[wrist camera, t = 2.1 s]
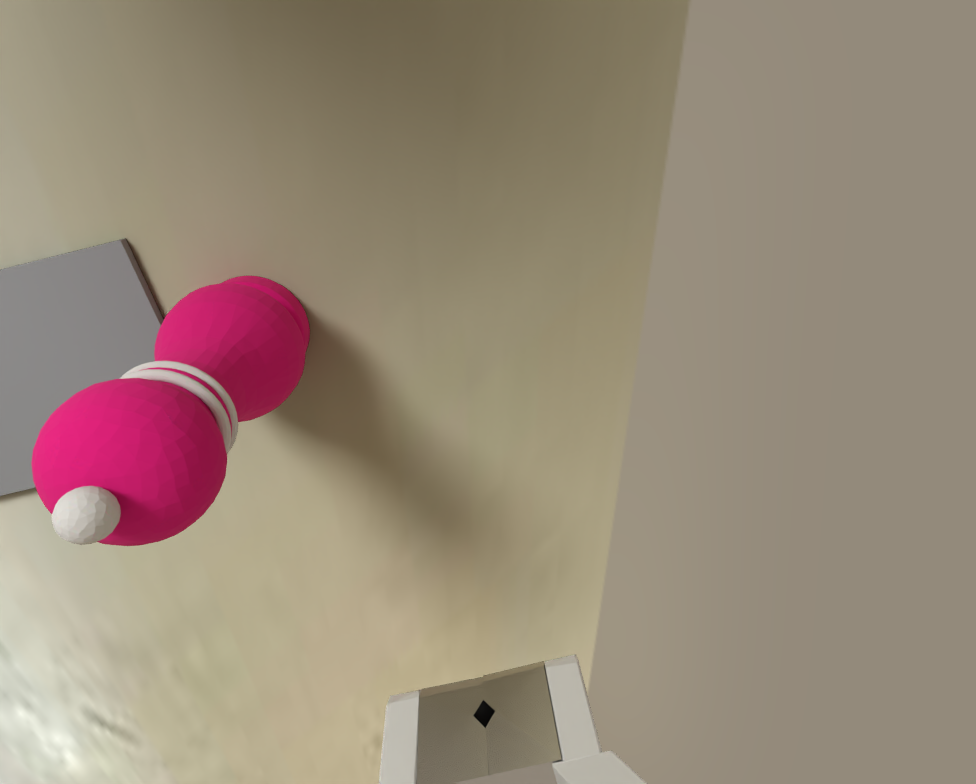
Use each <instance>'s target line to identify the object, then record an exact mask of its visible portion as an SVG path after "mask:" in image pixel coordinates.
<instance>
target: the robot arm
mask: <svg viewBox="0 0 976 784" xmlns="http://www.w3.org/2000/svg"><path fill="white" fill-rule="evenodd" d="M379 784H647V783H646V782H645V781H644V780H643V779H642V778H641V777H640V776H639V775H638V774H637V773H636V772H635V771H633V770H632V769H631V768H630V767H629V766H628V765H627V764H626V763H625V762H624V761H623V760H622V759H621V758H620V757H619V756H618V755H617V754H615V753H614V752H613V751H606V752H602V750H601V746H600V742H599V738H598V735H597V731H596V727H595V723H594V719H593V715H592V711H591V707H590V704H589V700H588V696H587V692H586V688H585V684H584V680H583V676H582V673H581V669H580V665H579V661H578V658H577V656H576V655H575V654H574V655H570V656H566V657H561V658H557V659H553V660H548V661H545V664H544V661H542V662H538V663H534V664H530V665H526V666H521V667H517V668H513V669H509V670H505V671H501V672H496V673H492V674H488V675H484V676H483V677H480V678H475V679H469V680H464V681H459V682H454V683H449V684H444V685H439V686H434V687H429V688H424V689H421V690H416V691H411V692H407V693H402V694H397V695H392V696H390V698H389V701H388V703H387V706H386V714H385V725H384V735H383V746H382V756H381V767H380V777H379Z"/></svg>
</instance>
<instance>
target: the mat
mask: <svg viewBox="0 0 976 784" xmlns="http://www.w3.org/2000/svg"><path fill="white" fill-rule="evenodd" d="M163 321H164V319H163V317H162V315H161V313H160V311H159V309H158V307H157V305H156V302H155V300H154V298H153V296H152V294H151V292H150V290H149V288H148V285H147V283H146V281H145V279H144V277H143V275H142V273H141V270H140V268H139V266H138V264H137V262H136V260H135V258H134V256H133V253H132V251H131V249H130V247H129V245H128V243H127V241H126V238H125V239H121V240H117V241H113V242H109V243H105V244H101V245H97V246H93V247H89V248H85V249H81V250H77V251H73V252H69V253H65V254H61V255H57V256H53V257H49V258H45V259H41V260H37V261H33V262H29V263H25V264H21V265H17V266H13V267H9V268H5V269H1V270H0V496H2V495H6V494H10V493H14V492H18V491H23V490H27V489H31V488H35V484H34V481H33V474H32V465H31V462H32V454H33V449H34V446H35V443H36V440H37V438H38V435H39V432H40V430H41V428H42V427H43V426H44V424H45V423H46V421H47V420H48V418H49V417H50V415H51V414H52V413H53V412H54V411H55V410H56V409H57V408H58V407H59V406H60V405H61V404H63V403H64V402H65V401H67V400H68V399H69V398H70V397H72V396H73V395H74V394H75V393H77V392H79V391H81V390H83V389H85V388H87V387H89V386H91V385H93V384H96V383H100V382H105V381H109V380H114V379H119V378H121V377H122V375H124V374H125V373H126V372H128V371H129V370H131V369H133V368H134V367H136V366H139V365H141V364H145V363H149V362H154V361H155V357H154V350H155V342H156V338H157V334H158V331H159V329H160V327H161V325H162V323H163Z"/></svg>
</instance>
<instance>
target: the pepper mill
mask: <svg viewBox="0 0 976 784" xmlns="http://www.w3.org/2000/svg"><path fill="white" fill-rule="evenodd" d="M309 337H310V328H309V322H308V319H307V316H306V313H305V310H304V309H303V307H302V305H301V304H300V302H299V301H298V300H297V298H296V297H295V296H294V295H293V294H292V293H291V292H290V291H289V290H287V289H286V288H285V287H283V286H282V285H280V284H278V283H276V282H274V281H272V280H269V279H266V278H262V277H257V276H240V277H235V278H232V279H229V280H227V281H225V282H223V283H221V284H215V285H209V286H206V287H202V288H199V289H197V290H195V291H193V292H191V293H189V294H188V295H187V296H185V297H184V298H183V299H182V300H180V301H179V302H178V303H177V304H176V305H175V306H174V307H173V308H172V310H171V311H170V312H169V313H168V314H167V315H166V317H165V319H164V321H163V323H162V325H161V327H160V329H159V331H158V334H157V338H156V342H155V350H154V357H155V361H154V362H149V363H145V364H141V365H139V366H136V367H134V368H133V369H131V370H129V371H128V372H126V373H125V374H124V375H122V377H121V378H119V379H114V380H109V381H105V382H100V383H96V384H93V385H91V386H89V387H87V388H85V389H83V390H81V391H79V392H77V393H75V394H74V395H73V396H72V397H70V398H69V399H68V400H67V401H65V402H64V403H63V404H61V405H60V406H59V407H58V408H57V409H56V410H55V411H54V412H53V413H52V414H51V415H50V417H49V418H48V420H47V421H46V423H45V424H44V426H43V427H42V428H41V430H40V432H39V435H38V438H37V440H36V443H35V446H34V449H33V454H32V462H31V465H32V474H33V481H34V484H35V487H36V489H37V492H38V495H39V496H40V498H41V500H42V502H43V503H44V505H45V507H46V508H47V509H48V510H49V511H50V513H51V514H52V524H53V527H54V529H55V531H56V533H57V534H58V535H59V536H60V537H61V538H62V539H64V540H66V541H69V542H71V543H74V544H80V545H83V544H92V543H95V542H99V543H102V544H110V545H121V546H136V545H144V544H148V543H153V542H158V541H161V540H164V539H167V538H169V537H172V536H174V535H176V534H178V533H180V532H181V531H183V530H185V529H186V528H187V527H189V526H190V525H191V524H193V523H194V522H195V521H196V520H197V519H199V518H200V517H201V516H202V515H203V514H204V513H205V512H206V510H207V509H208V508H209V507H210V505H211V504H212V503H213V502H214V500H215V498H216V496H217V494H218V493H219V491H220V488H221V486H222V483H223V481H224V478H225V474H226V465H227V453H228V452H229V451H230V449H231V448H232V446H233V444H234V442H235V440H236V436H237V432H238V422H242V421H248V420H252V419H255V418H257V417H260V416H262V415H264V414H266V413H268V412H270V411H272V410H273V409H275V408H276V407H278V406H279V405H280V404H281V403H282V402H284V401H285V400H286V399H287V398H288V396H289V395H290V394H291V392H292V391H293V390H294V388H295V387H296V386H297V384H298V382H299V380H300V378H301V376H302V373H303V369H304V364H305V352H306V350H307V347H308V343H309Z"/></svg>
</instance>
